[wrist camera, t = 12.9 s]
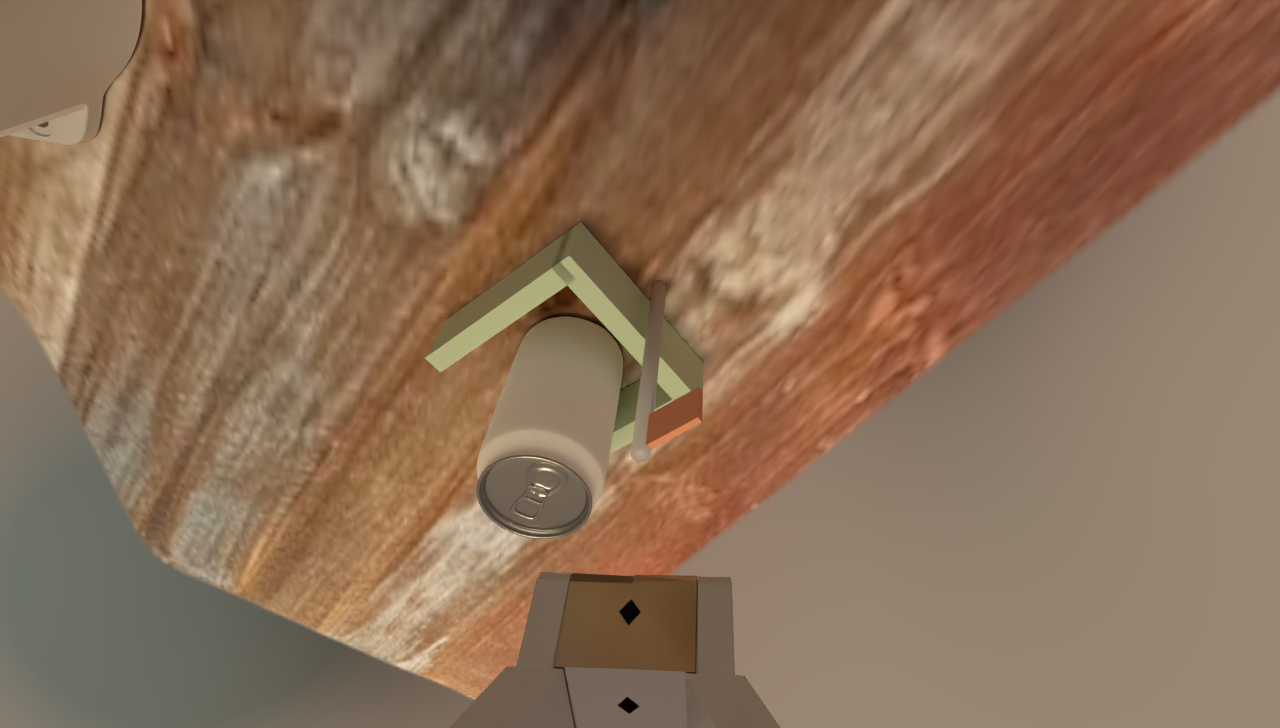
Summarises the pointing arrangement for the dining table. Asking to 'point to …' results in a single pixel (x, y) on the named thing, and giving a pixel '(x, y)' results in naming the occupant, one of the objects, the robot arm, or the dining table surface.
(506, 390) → the can
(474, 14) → the dining table surface
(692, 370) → the olive frame
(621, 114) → the dining table surface
